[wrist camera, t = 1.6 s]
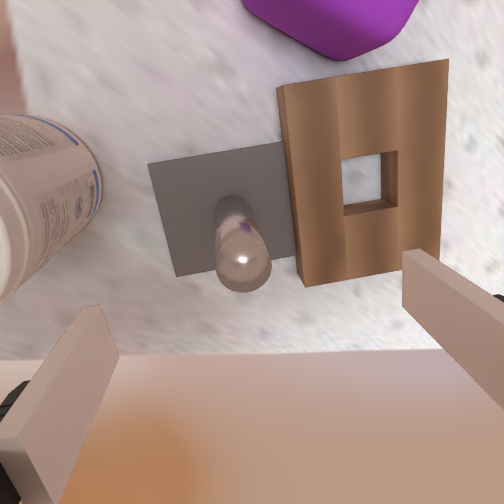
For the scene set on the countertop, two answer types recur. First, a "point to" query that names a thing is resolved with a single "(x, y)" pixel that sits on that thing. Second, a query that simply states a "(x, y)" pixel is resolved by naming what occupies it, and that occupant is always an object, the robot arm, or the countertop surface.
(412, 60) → the countertop surface
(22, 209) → the supplement tub
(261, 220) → the mat
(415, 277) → the robot arm
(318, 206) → the socket block
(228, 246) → the peg
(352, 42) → the toy camera
